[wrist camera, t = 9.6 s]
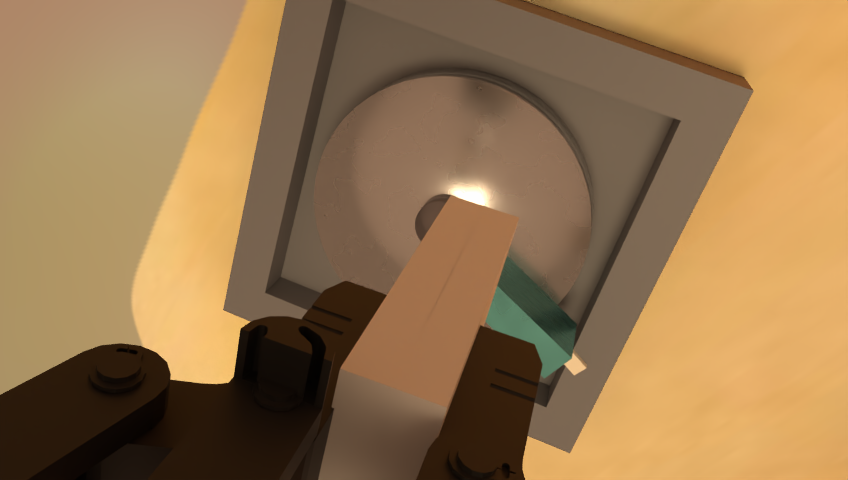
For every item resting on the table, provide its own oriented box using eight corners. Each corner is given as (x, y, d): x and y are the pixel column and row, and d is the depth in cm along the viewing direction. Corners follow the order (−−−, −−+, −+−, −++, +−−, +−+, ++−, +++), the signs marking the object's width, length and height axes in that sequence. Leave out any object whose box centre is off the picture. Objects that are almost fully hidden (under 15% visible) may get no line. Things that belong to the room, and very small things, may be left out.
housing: (323, -69, 42) (296, -69, 38) (744, 77, 39) (754, 92, 36) (246, 287, 52) (220, 313, 49) (573, 420, 50) (569, 457, 46)
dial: (280, 196, 47) (233, 233, 42) (449, 5, 40) (420, 19, 35) (477, 383, 49) (456, 442, 43) (672, 231, 42) (678, 279, 36)
